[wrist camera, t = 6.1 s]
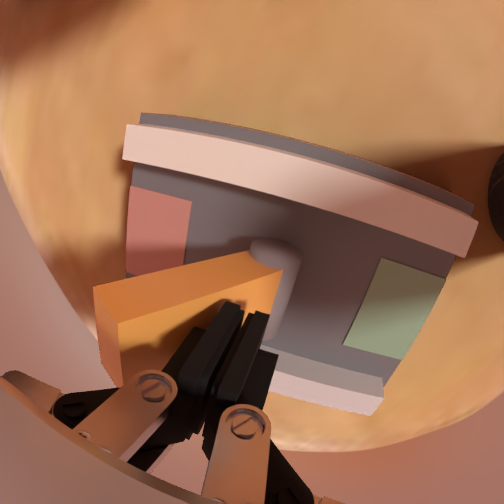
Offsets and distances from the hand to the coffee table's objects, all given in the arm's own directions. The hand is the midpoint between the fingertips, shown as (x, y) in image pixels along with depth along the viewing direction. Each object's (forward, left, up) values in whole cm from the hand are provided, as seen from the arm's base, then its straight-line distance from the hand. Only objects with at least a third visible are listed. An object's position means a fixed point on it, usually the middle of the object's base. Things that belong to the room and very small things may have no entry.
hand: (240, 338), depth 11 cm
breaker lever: (0, +1, -5) cm, 5 cm away
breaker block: (0, 0, -9) cm, 9 cm away
